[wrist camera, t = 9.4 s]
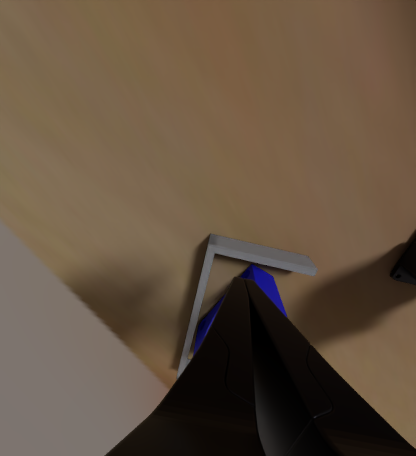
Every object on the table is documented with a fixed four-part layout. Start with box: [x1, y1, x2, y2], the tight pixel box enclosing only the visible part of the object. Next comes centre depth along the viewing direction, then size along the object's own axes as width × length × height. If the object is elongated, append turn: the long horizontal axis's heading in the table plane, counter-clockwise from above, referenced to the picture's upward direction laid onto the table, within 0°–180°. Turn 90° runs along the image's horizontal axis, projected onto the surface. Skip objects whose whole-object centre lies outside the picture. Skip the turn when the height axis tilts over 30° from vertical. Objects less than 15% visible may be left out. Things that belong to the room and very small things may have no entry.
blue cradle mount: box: [193, 264, 287, 356], centre depth 22 cm, size 12×4×6 cm, turn 148°
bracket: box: [176, 234, 318, 379], centre depth 24 cm, size 11×22×2 cm, turn 168°
